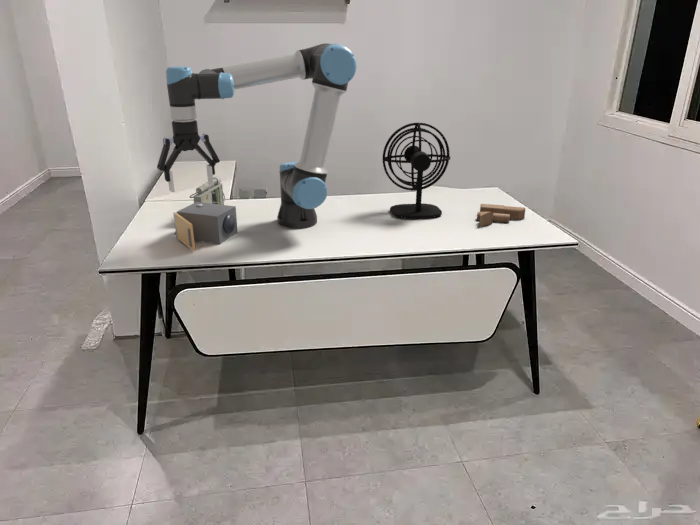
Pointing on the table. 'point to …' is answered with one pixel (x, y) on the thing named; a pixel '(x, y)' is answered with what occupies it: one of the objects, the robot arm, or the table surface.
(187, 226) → the side door
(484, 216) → the wooden block set
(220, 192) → the geiger counter
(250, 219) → the table surface
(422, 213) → the desk fan
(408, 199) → the table surface
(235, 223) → the camera housing
